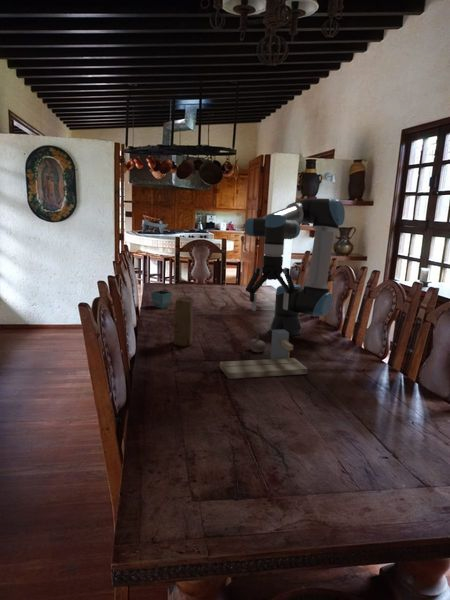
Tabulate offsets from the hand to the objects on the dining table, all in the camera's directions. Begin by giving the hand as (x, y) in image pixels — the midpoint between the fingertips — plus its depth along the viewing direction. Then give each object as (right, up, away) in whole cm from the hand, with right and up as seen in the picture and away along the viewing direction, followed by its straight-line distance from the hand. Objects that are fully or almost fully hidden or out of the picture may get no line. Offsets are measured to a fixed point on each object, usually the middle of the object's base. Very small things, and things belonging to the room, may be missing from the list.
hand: (269, 309), depth 177 cm
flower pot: (-54, -1, +87) cm, 103 cm away
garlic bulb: (-4, -18, +14) cm, 23 cm away
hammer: (+5, -21, -2) cm, 22 cm away
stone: (-35, -15, +19) cm, 43 cm away
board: (-3, -22, -10) cm, 24 cm away
